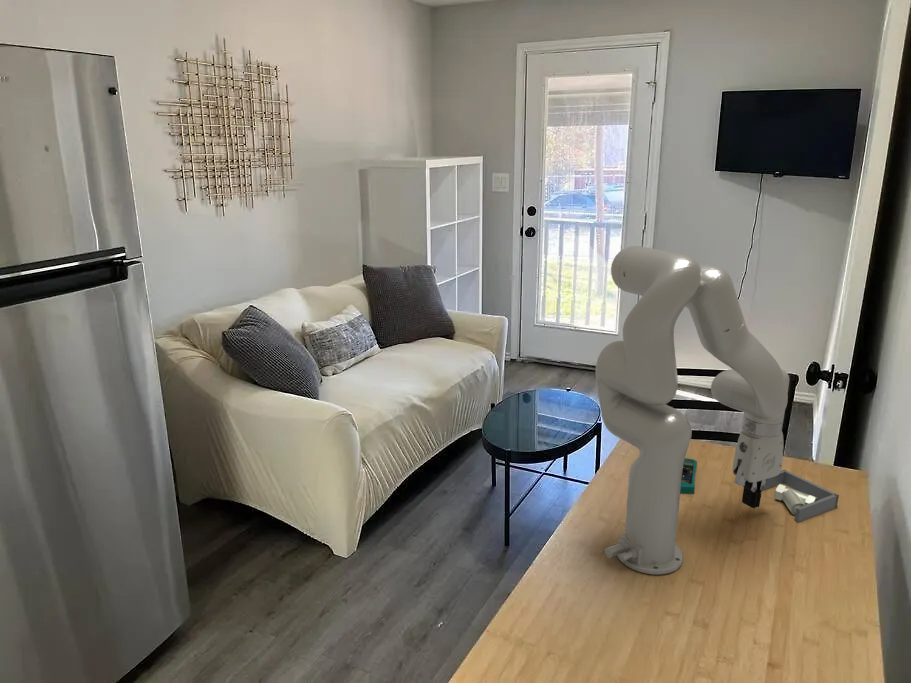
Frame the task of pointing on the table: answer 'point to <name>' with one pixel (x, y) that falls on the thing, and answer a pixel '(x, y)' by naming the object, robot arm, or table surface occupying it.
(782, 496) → the pipe fitting
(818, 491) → the gray u-shaped frame
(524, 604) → the table surface
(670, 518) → the robot arm
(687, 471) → the digital multimeter
